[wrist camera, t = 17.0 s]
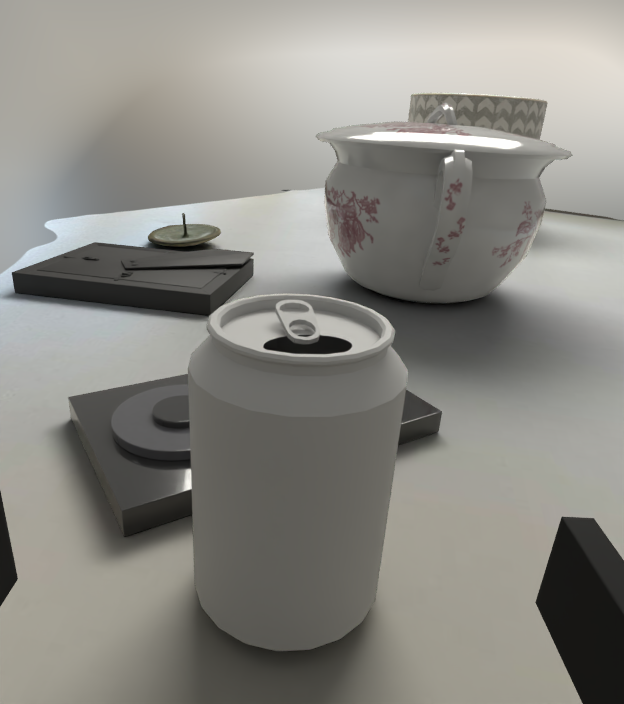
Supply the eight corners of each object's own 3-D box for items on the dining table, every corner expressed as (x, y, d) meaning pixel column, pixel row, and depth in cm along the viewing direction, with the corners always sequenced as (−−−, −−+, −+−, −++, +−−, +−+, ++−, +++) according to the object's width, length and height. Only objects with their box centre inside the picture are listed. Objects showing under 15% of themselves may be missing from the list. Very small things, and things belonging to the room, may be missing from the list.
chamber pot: (395, 252, 84) (413, 106, 76) (573, 296, 67) (621, 114, 59) (256, 278, 66) (260, 89, 58) (453, 350, 48) (500, 93, 40)
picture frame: (253, 275, 67) (96, 258, 70) (253, 252, 66) (94, 236, 68) (210, 315, 53) (14, 292, 55) (210, 287, 51) (10, 265, 54)
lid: (231, 254, 82) (235, 221, 82) (193, 249, 73) (197, 211, 72) (174, 247, 86) (177, 215, 85) (131, 241, 77) (134, 205, 76)
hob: (70, 418, 34) (66, 382, 33) (333, 362, 44) (335, 333, 43) (124, 537, 25) (120, 492, 24) (438, 431, 35) (445, 397, 34)
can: (202, 688, 18) (194, 369, 14) (189, 535, 25) (181, 284, 20) (405, 647, 20) (458, 355, 16) (343, 515, 27) (368, 282, 22)
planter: (530, 226, 117) (556, 105, 107) (505, 243, 97) (534, 96, 87) (420, 211, 128) (435, 100, 119) (376, 223, 108) (391, 91, 98)
